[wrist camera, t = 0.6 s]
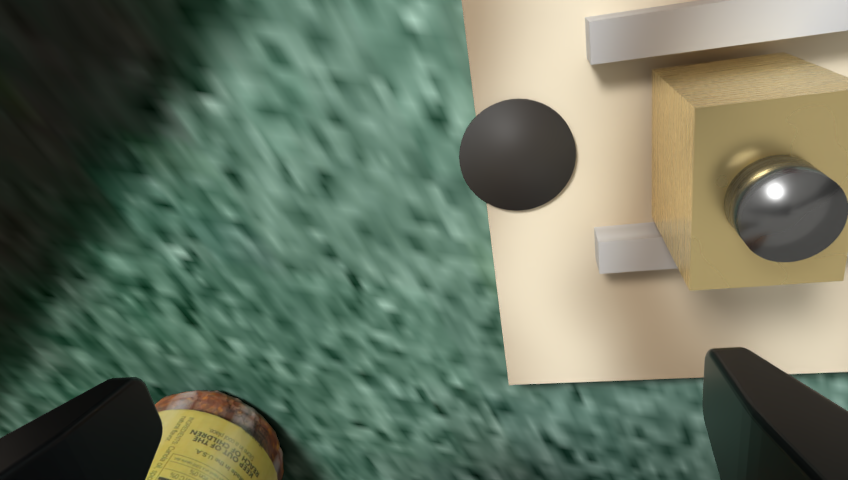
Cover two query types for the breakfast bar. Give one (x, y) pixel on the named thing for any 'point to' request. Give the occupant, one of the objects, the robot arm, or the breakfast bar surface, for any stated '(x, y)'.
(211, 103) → the breakfast bar surface
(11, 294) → the breakfast bar surface
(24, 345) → the breakfast bar surface
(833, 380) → the breakfast bar surface
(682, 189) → the block
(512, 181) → the plate
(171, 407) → the sauce bottle
